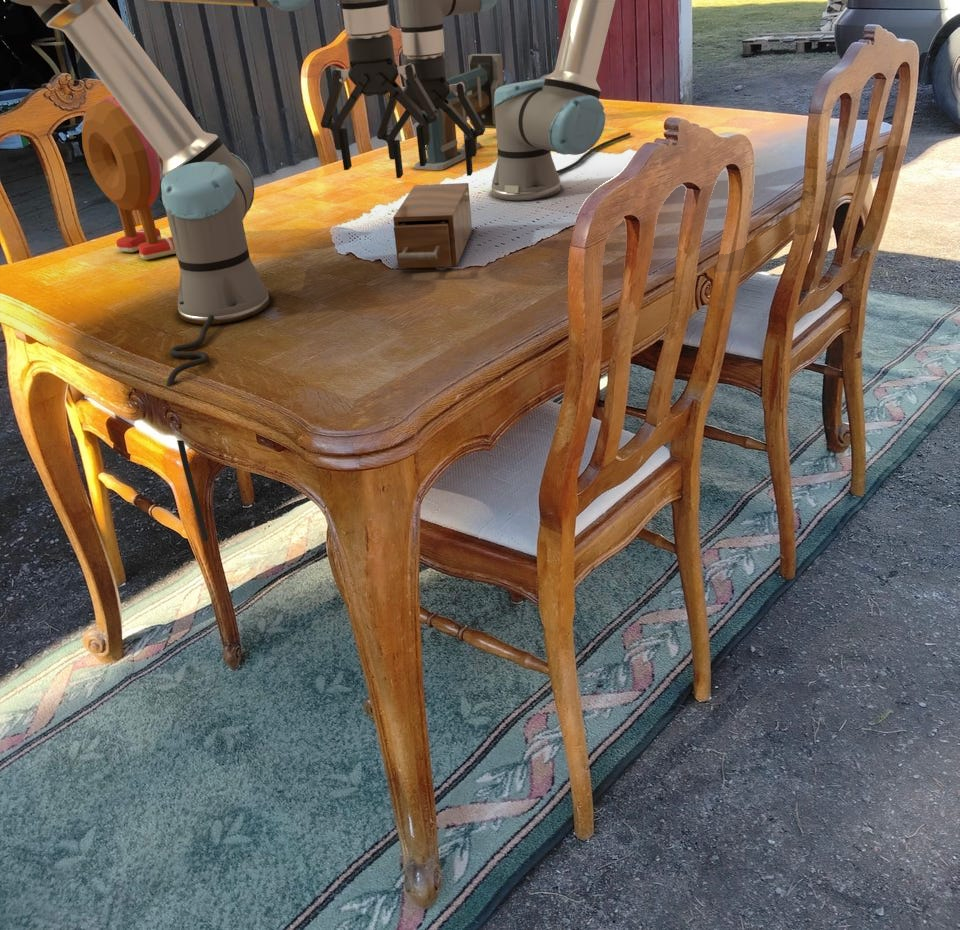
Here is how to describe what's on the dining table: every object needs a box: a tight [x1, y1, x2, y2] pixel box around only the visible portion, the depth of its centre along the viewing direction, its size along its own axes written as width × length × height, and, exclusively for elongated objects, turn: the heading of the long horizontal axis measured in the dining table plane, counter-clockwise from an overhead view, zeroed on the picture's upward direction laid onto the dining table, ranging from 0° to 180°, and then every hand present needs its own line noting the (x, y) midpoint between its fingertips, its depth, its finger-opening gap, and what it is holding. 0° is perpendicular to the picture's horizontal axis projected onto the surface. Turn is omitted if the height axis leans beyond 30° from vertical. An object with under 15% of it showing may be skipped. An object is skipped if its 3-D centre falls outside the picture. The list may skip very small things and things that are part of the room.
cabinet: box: [392, 182, 473, 267], centre depth 184 cm, size 21×11×9 cm, turn 173°
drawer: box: [393, 220, 452, 269], centre depth 179 cm, size 25×10×8 cm, turn 173°
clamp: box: [413, 53, 505, 171], centre depth 247 cm, size 35×9×21 cm, turn 151°
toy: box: [81, 96, 176, 260], centre depth 191 cm, size 21×10×30 cm, turn 47°
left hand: (385, 166), depth 169 cm, fingers open, 13 cm apart
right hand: (434, 175), depth 185 cm, fingers open, 13 cm apart
